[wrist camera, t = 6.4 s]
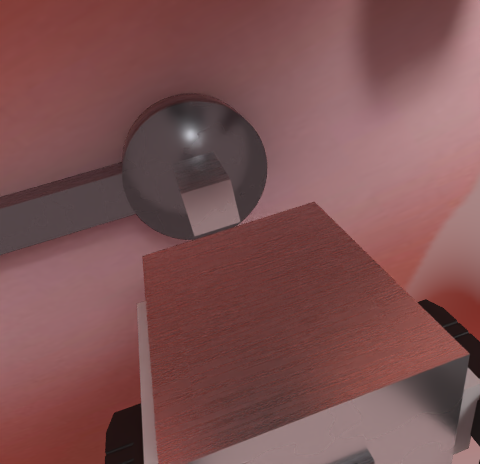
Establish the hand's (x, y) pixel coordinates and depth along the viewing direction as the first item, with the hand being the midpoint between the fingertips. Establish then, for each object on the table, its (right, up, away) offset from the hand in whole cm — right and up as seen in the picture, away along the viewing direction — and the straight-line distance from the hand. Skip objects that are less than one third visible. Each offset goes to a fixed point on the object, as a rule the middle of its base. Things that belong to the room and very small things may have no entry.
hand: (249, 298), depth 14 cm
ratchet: (-11, +5, +11) cm, 16 cm away
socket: (0, 0, 0) cm, 0 cm away
